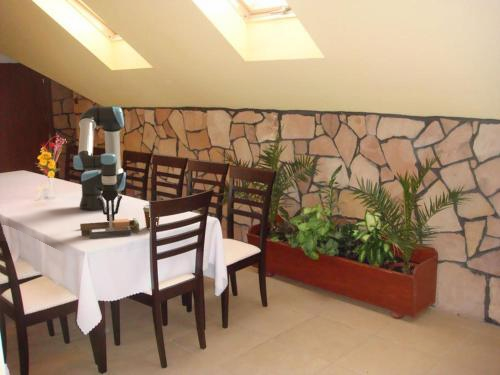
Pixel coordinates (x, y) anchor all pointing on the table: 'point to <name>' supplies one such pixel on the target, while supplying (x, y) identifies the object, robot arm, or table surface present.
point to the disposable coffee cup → (147, 218)
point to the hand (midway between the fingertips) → (110, 226)
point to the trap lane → (108, 229)
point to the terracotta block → (121, 224)
